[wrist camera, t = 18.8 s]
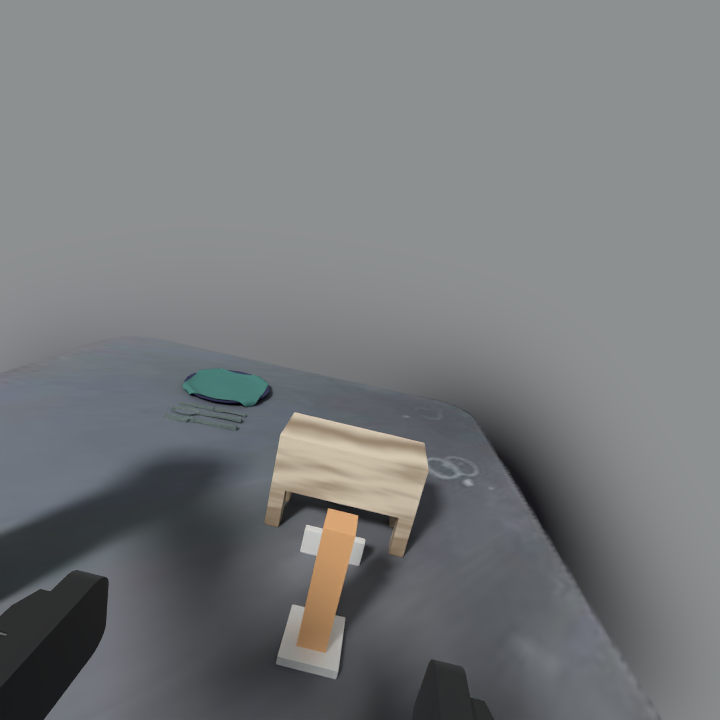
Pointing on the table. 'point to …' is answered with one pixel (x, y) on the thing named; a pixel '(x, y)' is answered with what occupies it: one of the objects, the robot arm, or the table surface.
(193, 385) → the cutlery set
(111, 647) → the table surface
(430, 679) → the robot arm
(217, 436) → the table surface
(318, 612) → the orange post on base
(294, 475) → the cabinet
